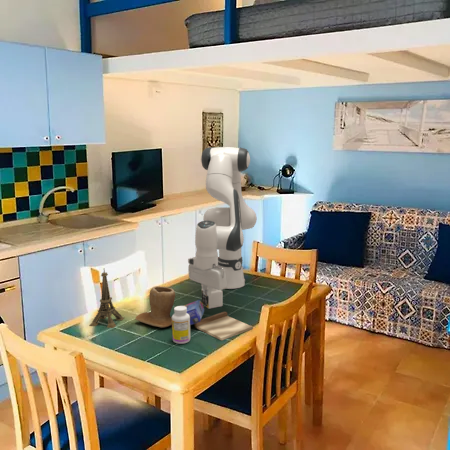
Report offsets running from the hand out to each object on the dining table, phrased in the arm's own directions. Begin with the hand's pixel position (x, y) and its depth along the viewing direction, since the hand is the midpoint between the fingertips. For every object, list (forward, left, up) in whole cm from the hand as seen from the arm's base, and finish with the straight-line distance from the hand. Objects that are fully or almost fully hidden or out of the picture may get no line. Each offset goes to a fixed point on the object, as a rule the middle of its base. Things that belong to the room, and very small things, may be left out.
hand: (207, 295), depth 202 cm
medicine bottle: (-13, +13, -12) cm, 22 cm away
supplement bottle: (+8, -19, -11) cm, 23 cm away
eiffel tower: (-27, -31, -12) cm, 43 cm away
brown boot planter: (-12, -16, -12) cm, 23 cm away
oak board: (+9, 0, -11) cm, 14 cm away
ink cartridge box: (-7, -3, -7) cm, 10 cm away
